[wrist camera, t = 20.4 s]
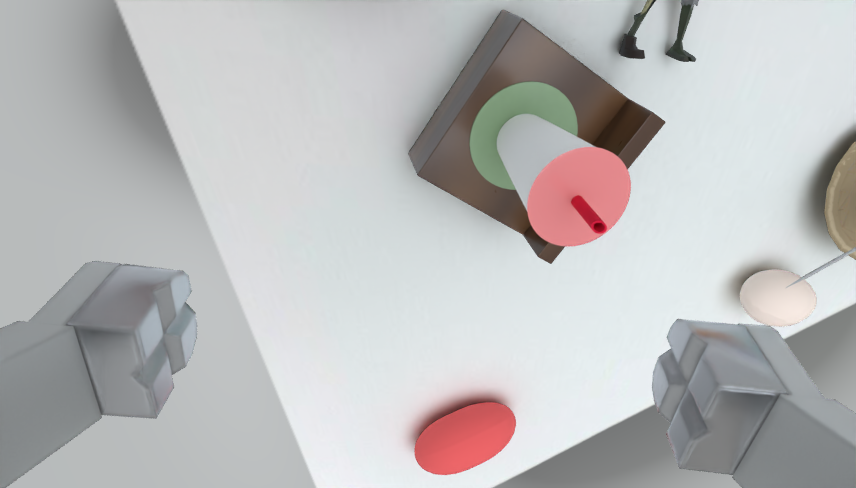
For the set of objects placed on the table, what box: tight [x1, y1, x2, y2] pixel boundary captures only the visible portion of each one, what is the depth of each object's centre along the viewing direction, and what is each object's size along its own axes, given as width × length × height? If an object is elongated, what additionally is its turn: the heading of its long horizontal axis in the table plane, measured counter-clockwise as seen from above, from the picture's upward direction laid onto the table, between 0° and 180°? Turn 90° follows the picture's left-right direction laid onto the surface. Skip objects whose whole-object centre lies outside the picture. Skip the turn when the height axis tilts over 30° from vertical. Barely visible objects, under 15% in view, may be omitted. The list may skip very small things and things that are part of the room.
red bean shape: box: [415, 402, 516, 475], centre depth 51 cm, size 5×9×6 cm, turn 102°
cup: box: [497, 114, 631, 246], centre depth 31 cm, size 5×5×12 cm
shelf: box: [408, 10, 665, 264], centre depth 37 cm, size 10×11×7 cm
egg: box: [740, 269, 817, 327], centre depth 49 cm, size 5×5×7 cm
